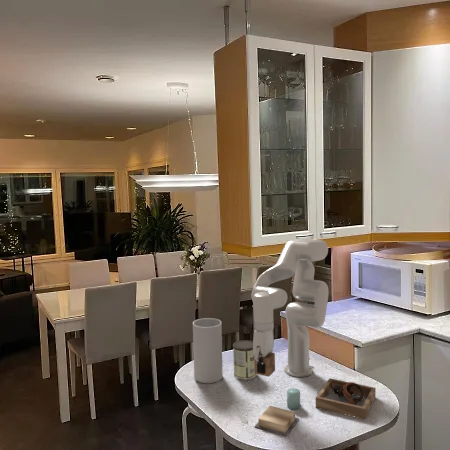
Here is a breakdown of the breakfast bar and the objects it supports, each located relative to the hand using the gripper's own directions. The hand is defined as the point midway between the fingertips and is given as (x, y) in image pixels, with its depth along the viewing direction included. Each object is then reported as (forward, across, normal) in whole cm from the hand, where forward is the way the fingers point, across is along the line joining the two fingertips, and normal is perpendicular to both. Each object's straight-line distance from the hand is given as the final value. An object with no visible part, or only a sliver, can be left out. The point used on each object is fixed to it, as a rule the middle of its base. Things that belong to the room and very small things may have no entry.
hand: (264, 368), depth 172 cm
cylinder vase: (+14, -8, -31) cm, 35 cm away
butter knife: (+14, +9, -11) cm, 20 cm away
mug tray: (+14, -14, +28) cm, 34 cm away
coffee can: (+14, -18, -18) cm, 29 cm away
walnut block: (+1, 0, 0) cm, 1 cm away
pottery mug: (+14, -16, +28) cm, 35 cm away
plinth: (+13, +12, +10) cm, 20 cm away
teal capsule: (+14, -2, +11) cm, 18 cm away
